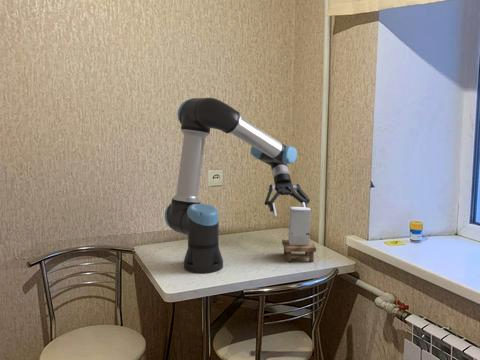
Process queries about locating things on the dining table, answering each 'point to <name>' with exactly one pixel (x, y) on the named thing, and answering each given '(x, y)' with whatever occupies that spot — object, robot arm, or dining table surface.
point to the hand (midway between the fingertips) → (290, 217)
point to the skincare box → (299, 226)
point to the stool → (299, 250)
